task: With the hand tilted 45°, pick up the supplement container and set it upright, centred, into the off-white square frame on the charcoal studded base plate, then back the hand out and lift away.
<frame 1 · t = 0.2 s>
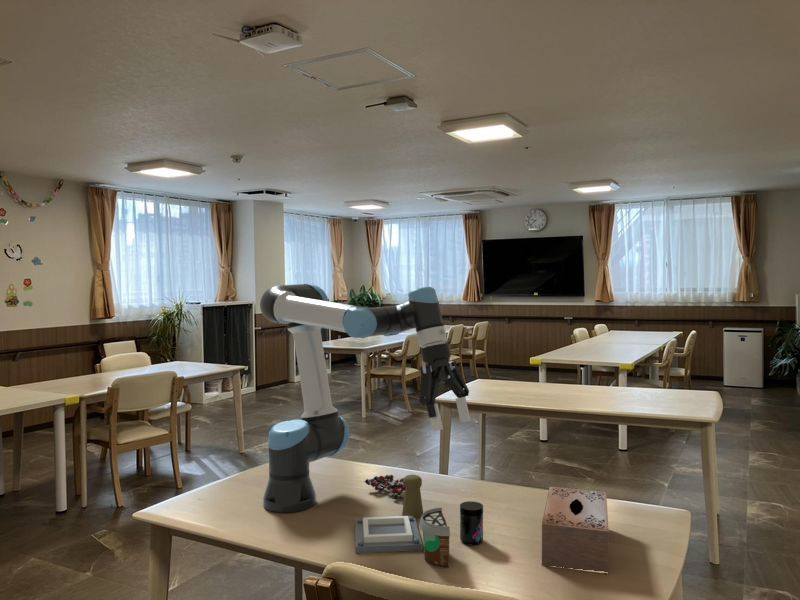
hand: (452, 426, 157), 28 cm above the table, tool tilted 15°, fingers open, 13 cm apart
base plate: (387, 537, 156), on the table
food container: (432, 559, 144), on the table
cork: (412, 515, 170), on the table
toy collection: (390, 492, 189), on the table
tissue box cover: (576, 547, 150), on the table
supplement container: (471, 541, 153), on the table
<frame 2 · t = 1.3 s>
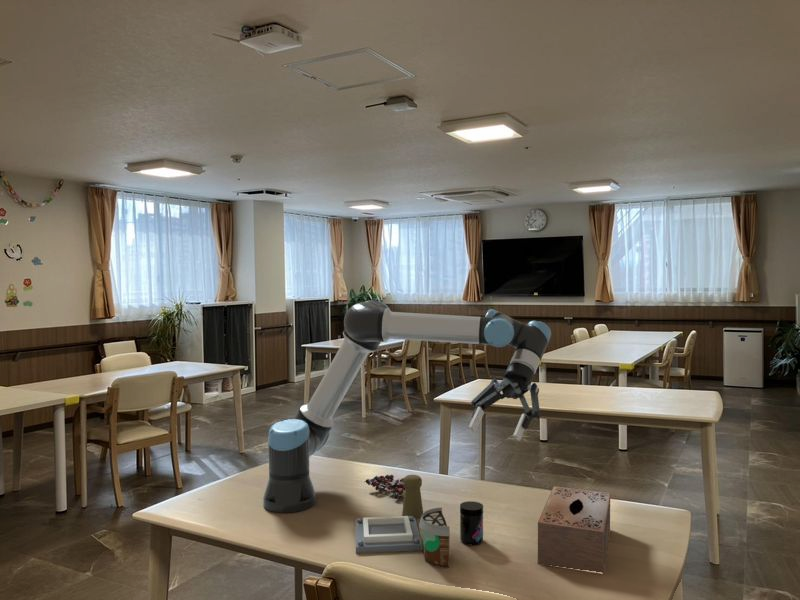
hand: (493, 433, 160), 25 cm above the table, tool tilted 45°, fingers open, 13 cm apart
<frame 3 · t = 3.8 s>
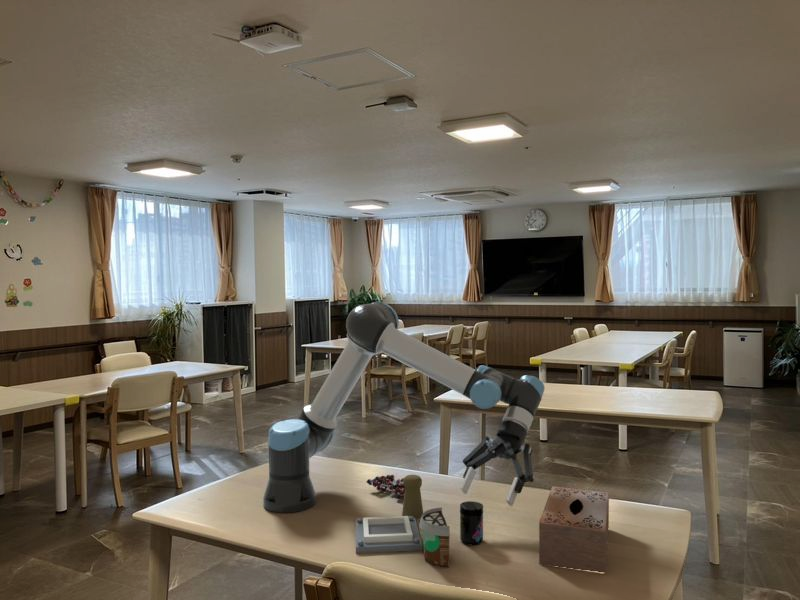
hand: (485, 497, 156), 10 cm above the table, tool tilted 45°, fingers open, 13 cm apart
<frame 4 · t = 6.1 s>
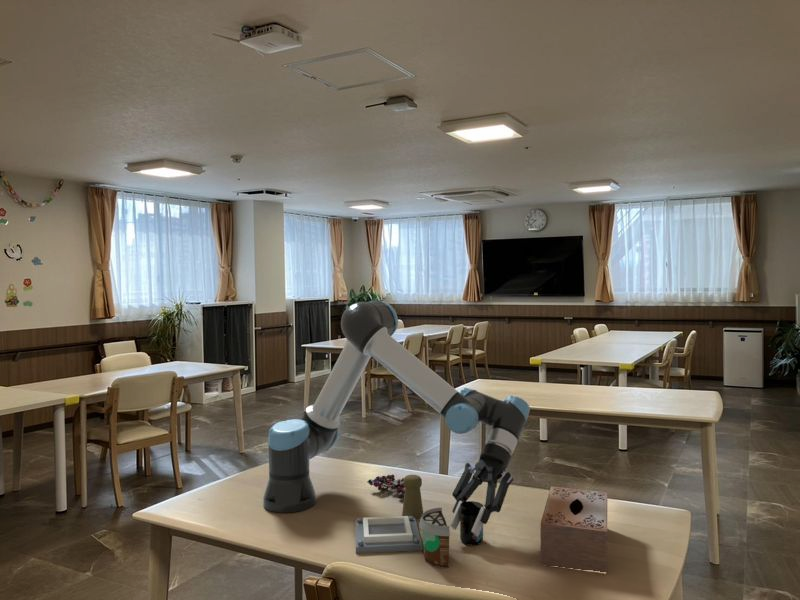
hand: (463, 530, 150), 4 cm above the table, tool tilted 45°, fingers closed on supplement container, 6 cm apart
supplement container: (471, 541, 153), on the table, touching gripper
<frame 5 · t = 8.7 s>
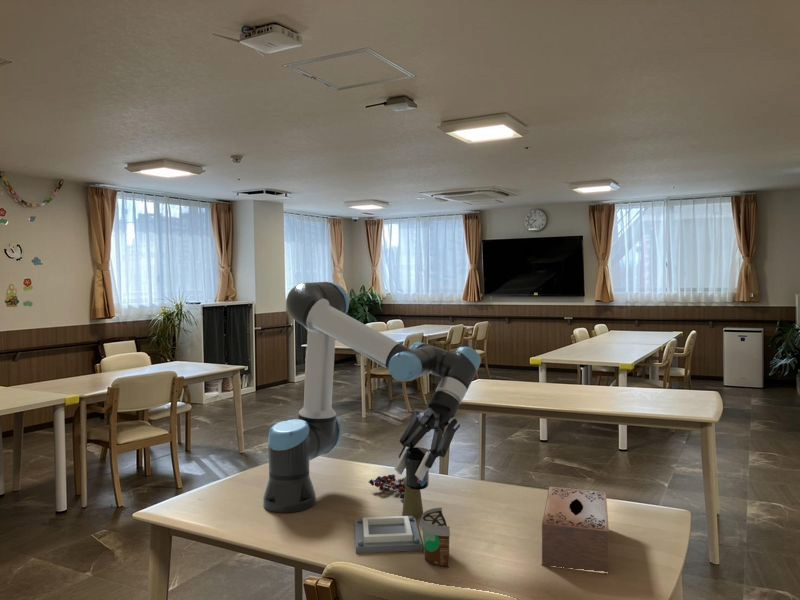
hand: (408, 474, 151), 18 cm above the table, tool tilted 45°, fingers closed on supplement container, 6 cm apart
supplement container: (417, 486, 154), point 14 cm above the table, touching gripper
when the fingers open (6 cm above the table, at t = 11.7 s): supplement container stays where it is, resting on base plate.
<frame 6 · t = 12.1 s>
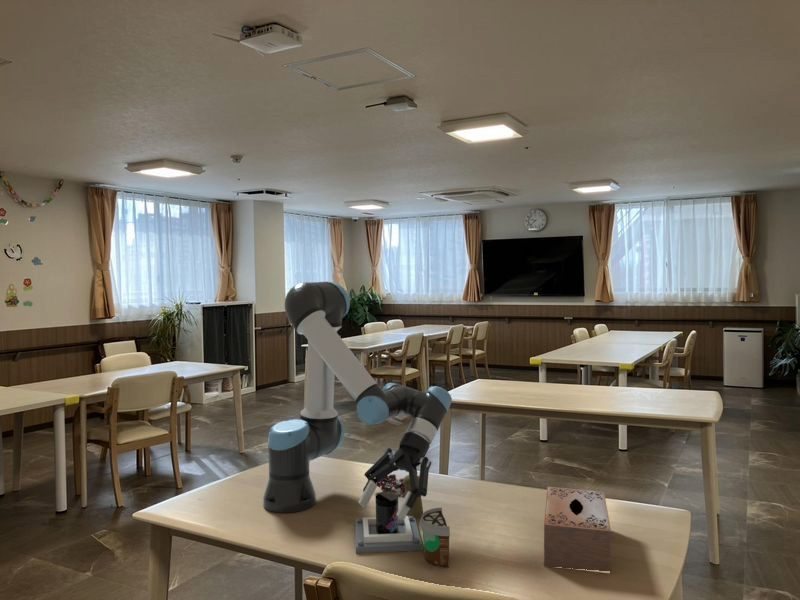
hand: (380, 511, 153), 7 cm above the table, tool tilted 45°, fingers open, 12 cm apart
supplement container: (387, 532, 156), point 1 cm above the table, touching base plate
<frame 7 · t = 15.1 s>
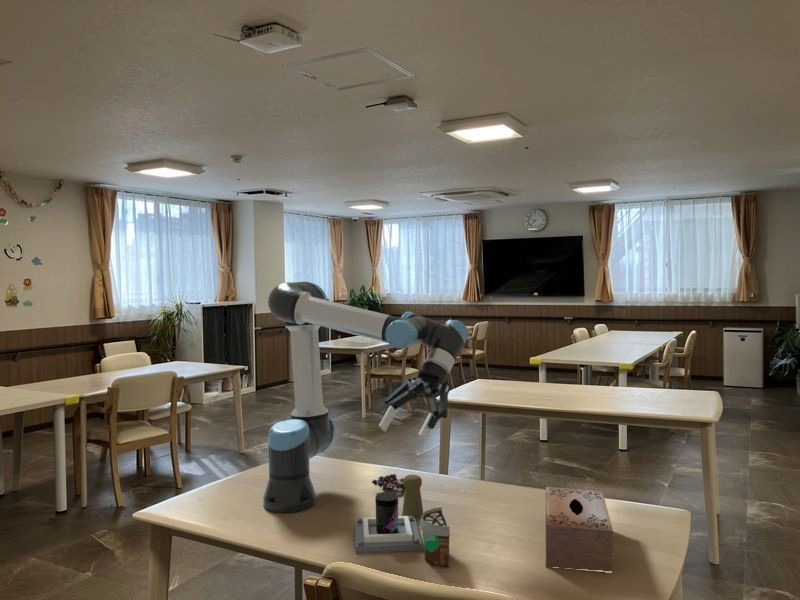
hand: (401, 433, 159), 26 cm above the table, tool tilted 45°, fingers open, 13 cm apart
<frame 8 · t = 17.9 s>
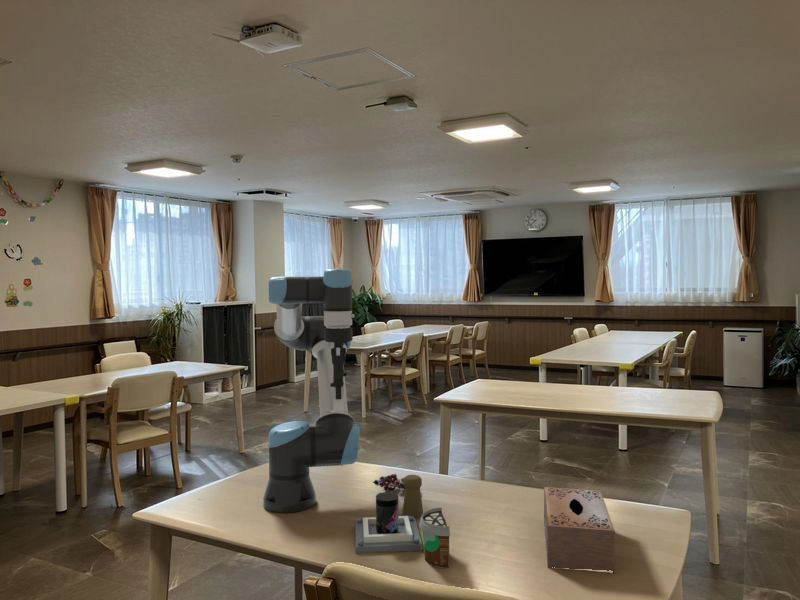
hand: (339, 405, 164), 32 cm above the table, tool pointing down, fingers open, 13 cm apart
at the end: supplement container 0.1 cm off-centre on the base plate, point 1.3 cm above the base plate's base; supplement container tilted 0°; the gripper is holding nothing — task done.
